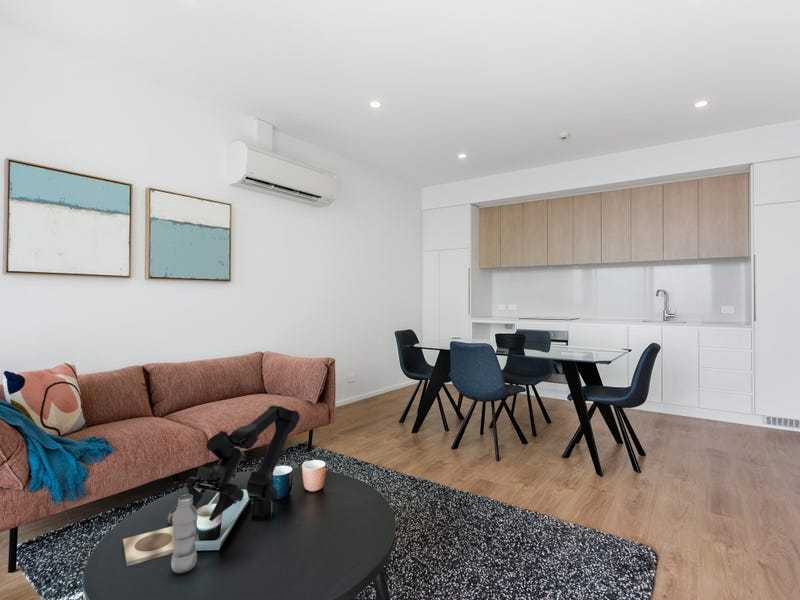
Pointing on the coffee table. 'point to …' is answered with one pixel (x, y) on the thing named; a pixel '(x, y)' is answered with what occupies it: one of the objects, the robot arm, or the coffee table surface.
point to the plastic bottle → (184, 535)
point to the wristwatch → (172, 514)
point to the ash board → (148, 545)
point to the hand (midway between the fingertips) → (198, 517)
